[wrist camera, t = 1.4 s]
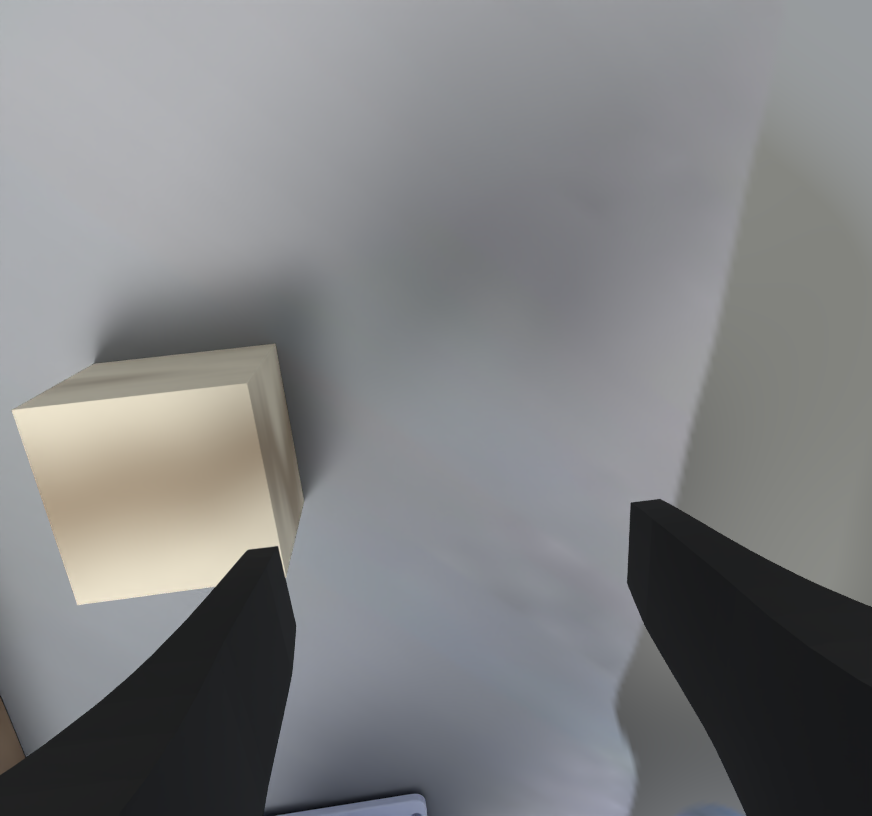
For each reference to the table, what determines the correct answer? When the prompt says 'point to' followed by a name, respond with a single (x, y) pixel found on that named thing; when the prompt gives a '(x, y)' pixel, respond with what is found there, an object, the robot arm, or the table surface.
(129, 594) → the birch block
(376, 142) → the table surface
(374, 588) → the table surface
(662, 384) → the table surface
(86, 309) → the table surface
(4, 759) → the walnut board
